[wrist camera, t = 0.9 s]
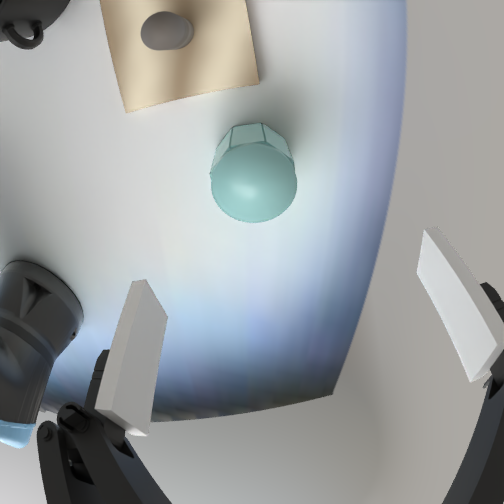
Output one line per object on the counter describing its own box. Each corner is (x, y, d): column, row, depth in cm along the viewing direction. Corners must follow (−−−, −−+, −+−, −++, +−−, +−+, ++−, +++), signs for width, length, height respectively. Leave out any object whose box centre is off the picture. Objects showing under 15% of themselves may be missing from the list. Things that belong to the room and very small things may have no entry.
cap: (225, 191, 28) (220, 227, 23) (211, 130, 24) (202, 154, 19) (289, 182, 27) (299, 217, 23) (282, 119, 24) (292, 140, 19)
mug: (30, 74, 19) (-35, 98, 12) (-5, -2, 12) (-67, 5, 5) (104, 12, 16) (43, 6, 9) (62, -66, 10) (5, -83, 2)
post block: (130, 110, 22) (105, 127, 18) (105, -1, 16) (74, -7, 11) (258, 82, 22) (262, 91, 17) (237, -37, 15) (235, -58, 11)
